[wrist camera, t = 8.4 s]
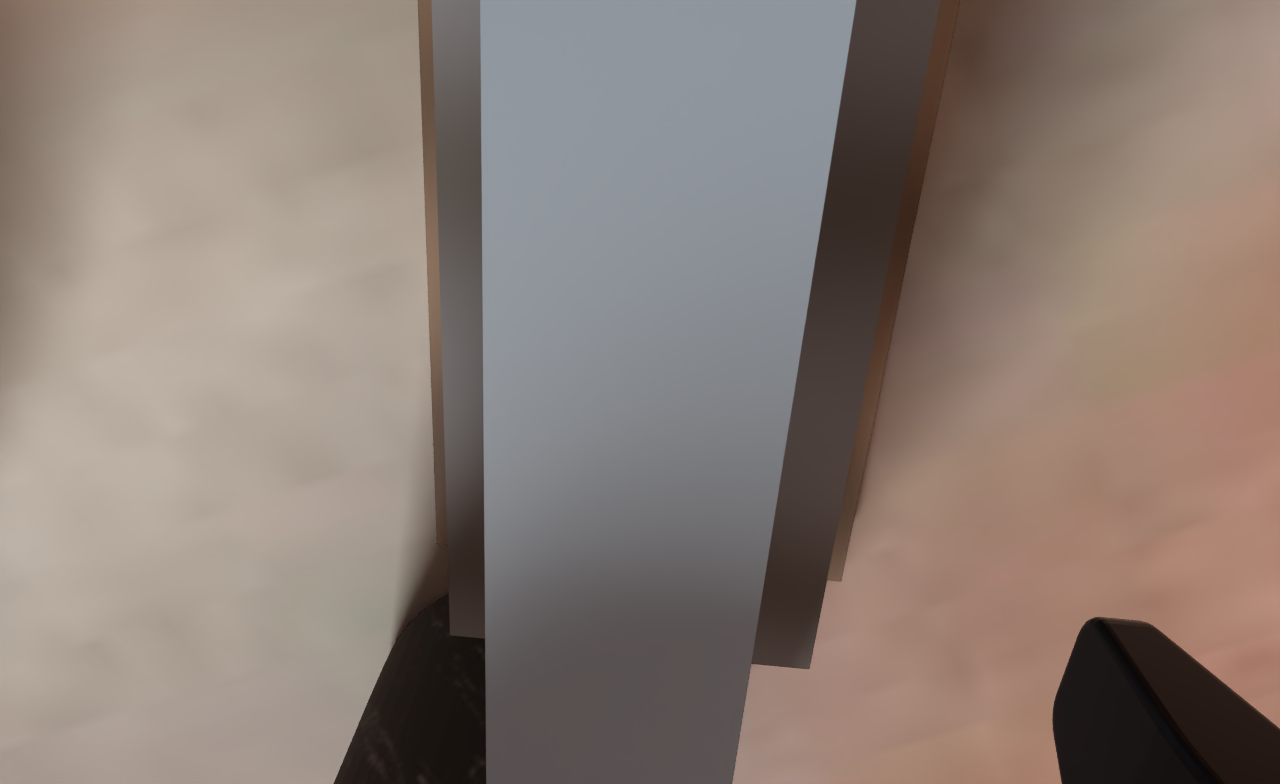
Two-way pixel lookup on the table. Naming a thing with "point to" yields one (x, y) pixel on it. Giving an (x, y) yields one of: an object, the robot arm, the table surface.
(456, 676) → the travel mug
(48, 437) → the table surface
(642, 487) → the door panel
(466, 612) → the track base
